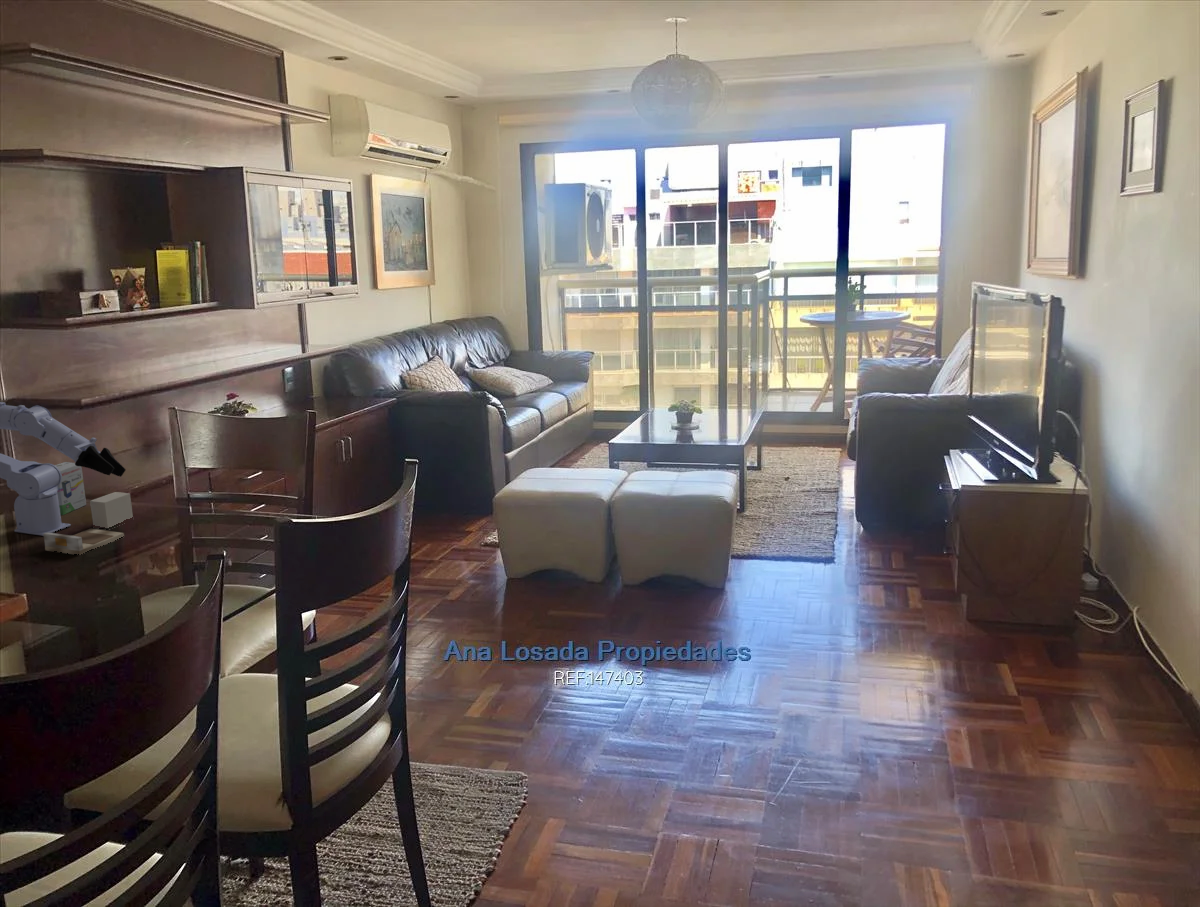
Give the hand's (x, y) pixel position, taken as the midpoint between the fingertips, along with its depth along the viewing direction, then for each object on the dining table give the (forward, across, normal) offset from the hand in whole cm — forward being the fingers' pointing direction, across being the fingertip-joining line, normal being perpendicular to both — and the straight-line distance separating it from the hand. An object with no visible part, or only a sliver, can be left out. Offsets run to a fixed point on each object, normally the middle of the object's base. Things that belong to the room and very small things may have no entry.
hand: (117, 472), depth 224 cm
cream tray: (+4, -2, +17) cm, 18 cm away
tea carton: (+3, +11, +13) cm, 17 cm away
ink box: (-12, +24, +18) cm, 32 cm away
